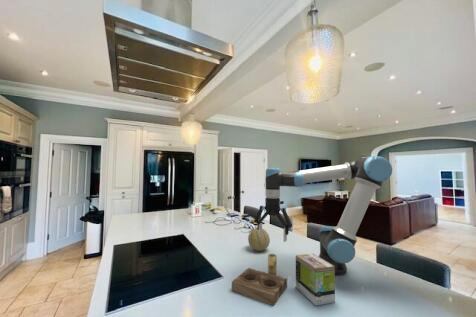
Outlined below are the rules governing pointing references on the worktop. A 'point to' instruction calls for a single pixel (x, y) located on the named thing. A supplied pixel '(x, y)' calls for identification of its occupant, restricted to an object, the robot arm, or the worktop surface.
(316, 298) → the tea box
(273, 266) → the bushing
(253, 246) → the cantaloupe
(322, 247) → the robot arm
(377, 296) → the worktop surface
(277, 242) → the worktop surface
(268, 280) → the jig
